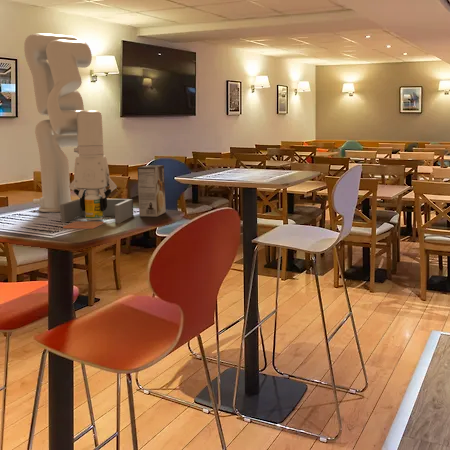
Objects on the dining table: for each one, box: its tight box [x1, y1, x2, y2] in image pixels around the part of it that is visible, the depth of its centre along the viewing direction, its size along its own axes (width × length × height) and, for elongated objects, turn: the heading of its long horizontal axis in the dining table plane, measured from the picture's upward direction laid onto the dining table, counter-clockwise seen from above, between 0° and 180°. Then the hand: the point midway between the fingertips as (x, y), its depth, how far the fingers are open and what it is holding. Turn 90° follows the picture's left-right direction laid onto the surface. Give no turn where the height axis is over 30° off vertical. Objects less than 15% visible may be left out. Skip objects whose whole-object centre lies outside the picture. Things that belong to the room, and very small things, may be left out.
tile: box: [63, 220, 105, 229], centre depth 173 cm, size 9×9×1 cm
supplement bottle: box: [85, 189, 104, 221], centre depth 182 cm, size 5×5×10 cm
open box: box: [59, 198, 134, 224], centre depth 185 cm, size 18×15×6 cm
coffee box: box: [137, 164, 167, 218], centre depth 193 cm, size 9×6×16 cm
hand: (93, 209), depth 182 cm, fingers closed on supplement bottle, 5 cm apart
